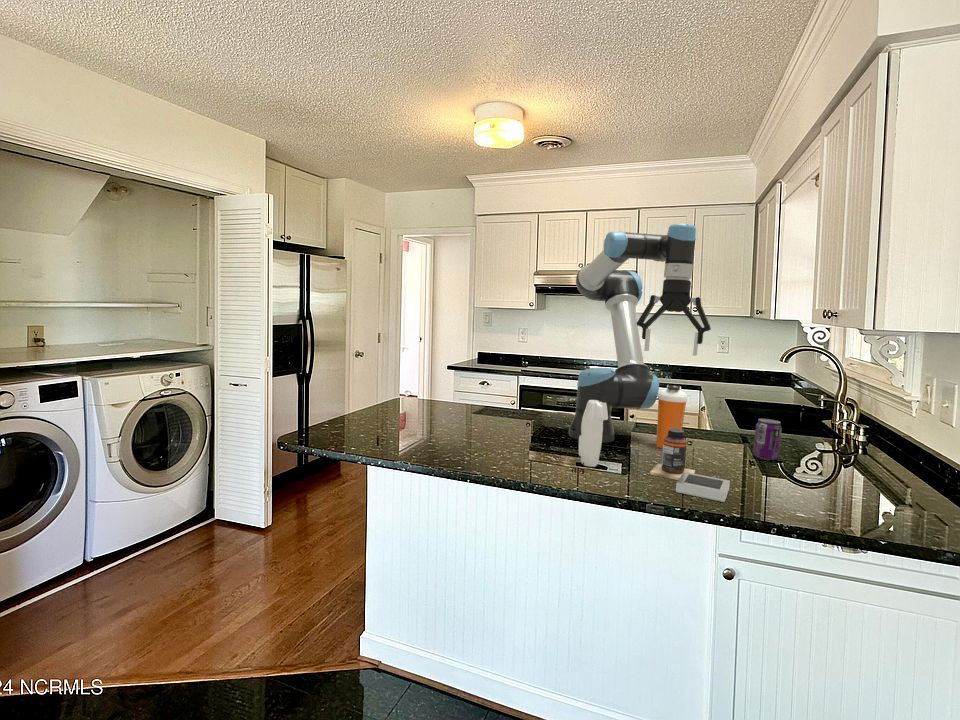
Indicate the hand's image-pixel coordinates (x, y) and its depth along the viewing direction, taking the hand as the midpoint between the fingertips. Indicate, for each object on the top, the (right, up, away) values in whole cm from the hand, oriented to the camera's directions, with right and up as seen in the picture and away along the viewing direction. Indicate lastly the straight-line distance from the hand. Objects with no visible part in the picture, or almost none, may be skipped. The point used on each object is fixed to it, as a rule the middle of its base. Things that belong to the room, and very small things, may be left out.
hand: (670, 353), depth 162 cm
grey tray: (0, -34, -24) cm, 42 cm away
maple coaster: (-3, -33, -11) cm, 35 cm away
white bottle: (-25, -31, -7) cm, 41 cm away
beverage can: (+34, -33, +12) cm, 49 cm away
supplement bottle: (-3, -32, -11) cm, 34 cm away
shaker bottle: (+6, -31, +19) cm, 36 cm away
